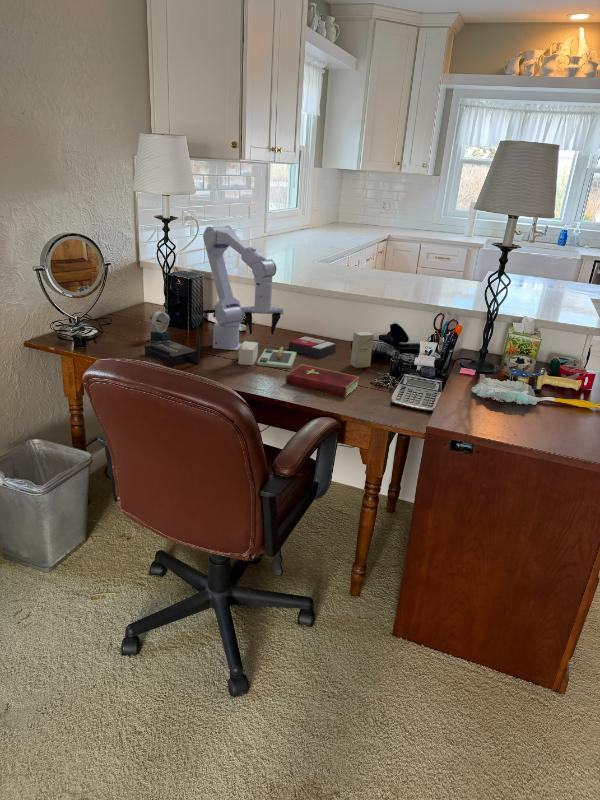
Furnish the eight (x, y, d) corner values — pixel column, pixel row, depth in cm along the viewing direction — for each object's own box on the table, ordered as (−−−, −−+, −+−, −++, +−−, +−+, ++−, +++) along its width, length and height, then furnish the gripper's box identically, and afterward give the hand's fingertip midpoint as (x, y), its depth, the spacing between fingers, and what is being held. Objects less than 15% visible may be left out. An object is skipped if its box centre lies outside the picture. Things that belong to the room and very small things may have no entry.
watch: (172, 338, 217) (172, 311, 212) (159, 343, 210) (158, 315, 206) (160, 336, 219) (160, 308, 214) (147, 341, 212) (146, 312, 208)
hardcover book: (345, 399, 173) (346, 387, 171) (285, 385, 181) (285, 373, 179) (358, 388, 183) (359, 376, 181) (300, 374, 191) (301, 363, 189)
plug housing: (238, 363, 195) (238, 348, 193) (243, 355, 204) (244, 340, 202) (252, 365, 195) (253, 349, 193) (257, 357, 203) (257, 342, 201)
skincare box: (356, 368, 199) (359, 335, 195) (349, 364, 203) (353, 332, 198) (370, 366, 202) (374, 334, 198) (363, 362, 206) (367, 330, 201)
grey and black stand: (140, 356, 197) (138, 308, 190) (172, 349, 207) (171, 303, 200) (177, 371, 185) (176, 321, 179) (208, 362, 195) (209, 315, 189)
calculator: (305, 335, 222) (336, 342, 214) (304, 345, 223) (336, 353, 215) (288, 340, 214) (320, 347, 205) (287, 351, 215) (319, 359, 207)
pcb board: (257, 365, 195) (257, 354, 194) (264, 351, 210) (265, 341, 208) (290, 368, 194) (291, 357, 193) (296, 354, 209) (297, 344, 208)
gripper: (242, 297, 188) (241, 336, 193) (285, 299, 190) (283, 337, 196) (241, 292, 194) (240, 330, 200) (282, 294, 197) (280, 331, 202)
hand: (261, 333), depth 198 cm, fingers open, 7 cm apart
